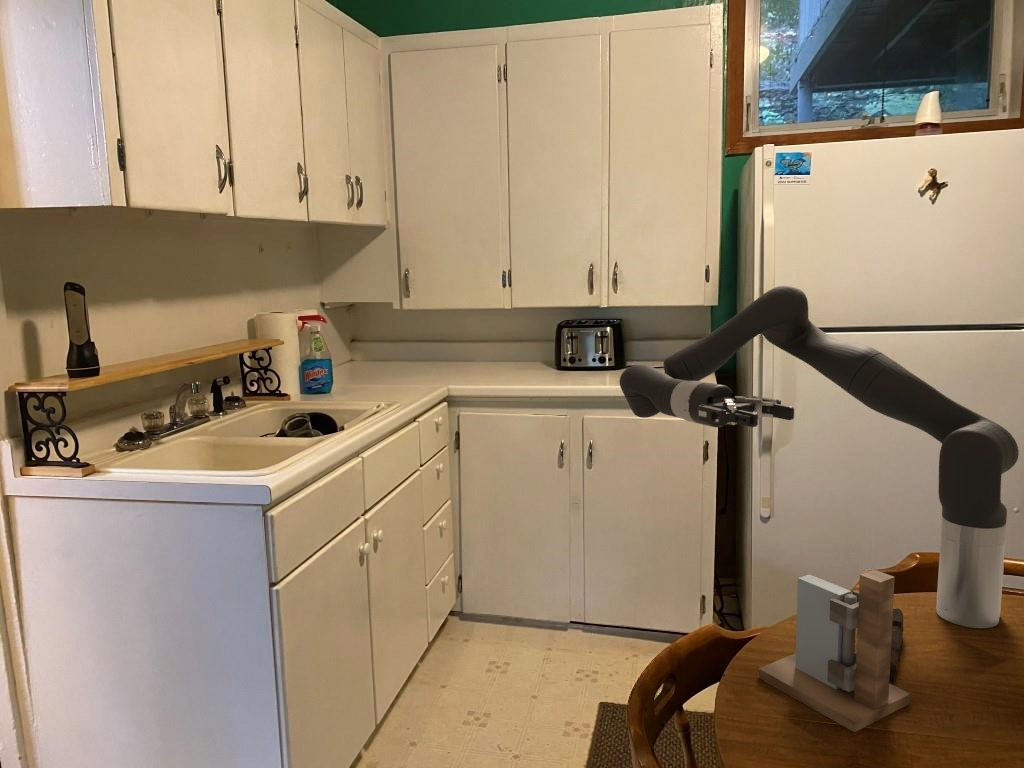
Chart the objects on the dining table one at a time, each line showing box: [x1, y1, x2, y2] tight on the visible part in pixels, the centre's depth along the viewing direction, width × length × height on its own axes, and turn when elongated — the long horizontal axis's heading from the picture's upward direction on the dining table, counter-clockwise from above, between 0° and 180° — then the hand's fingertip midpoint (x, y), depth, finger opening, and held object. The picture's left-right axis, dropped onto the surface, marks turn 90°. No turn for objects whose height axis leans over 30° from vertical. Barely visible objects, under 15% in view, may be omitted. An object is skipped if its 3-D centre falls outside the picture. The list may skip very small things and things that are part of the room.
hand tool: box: [889, 607, 904, 684], centre depth 119 cm, size 19×4×5 cm, turn 145°
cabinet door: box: [795, 573, 857, 691], centre depth 109 cm, size 2×9×14 cm, turn 30°
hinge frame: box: [758, 569, 911, 733], centre depth 109 cm, size 12×16×20 cm
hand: (774, 417), depth 124 cm, fingers open, 8 cm apart
